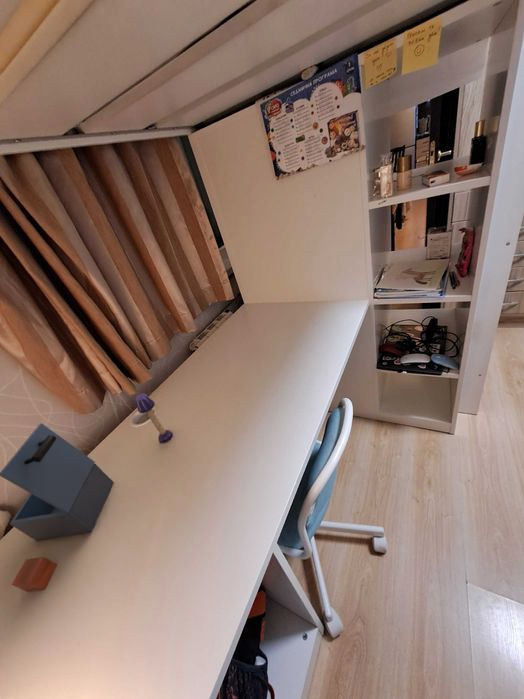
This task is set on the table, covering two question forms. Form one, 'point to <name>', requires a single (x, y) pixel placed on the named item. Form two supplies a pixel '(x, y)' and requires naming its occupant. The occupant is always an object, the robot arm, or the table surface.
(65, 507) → the lid
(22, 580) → the block
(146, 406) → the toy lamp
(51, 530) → the blue storage chest
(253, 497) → the table surface
